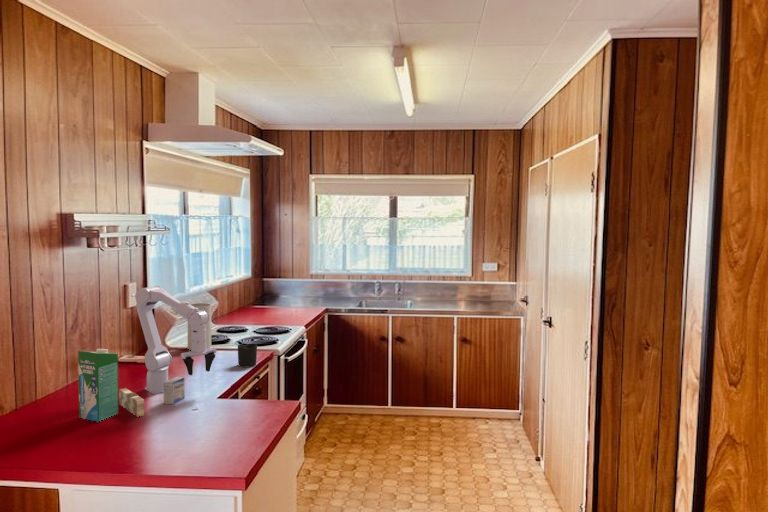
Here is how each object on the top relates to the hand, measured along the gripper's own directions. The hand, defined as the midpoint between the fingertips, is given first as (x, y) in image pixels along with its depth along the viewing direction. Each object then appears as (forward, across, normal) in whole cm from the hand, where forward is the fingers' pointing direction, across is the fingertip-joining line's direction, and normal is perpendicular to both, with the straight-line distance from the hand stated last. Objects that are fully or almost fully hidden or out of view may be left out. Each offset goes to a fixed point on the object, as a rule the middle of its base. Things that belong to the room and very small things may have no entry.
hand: (199, 372), depth 215 cm
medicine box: (+10, -10, +1) cm, 14 cm away
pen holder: (+10, +40, +26) cm, 48 cm away
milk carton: (+10, -37, +3) cm, 39 cm away
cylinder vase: (+10, +38, +72) cm, 83 cm away
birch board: (+9, -26, +2) cm, 28 cm away
